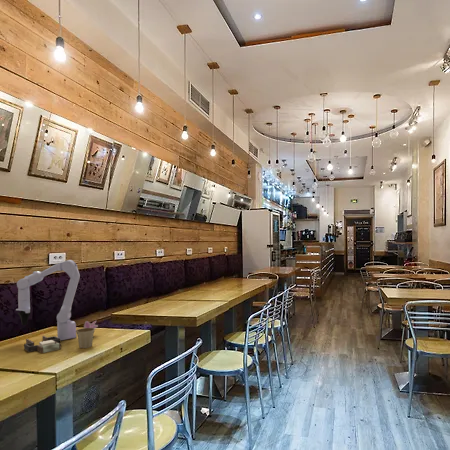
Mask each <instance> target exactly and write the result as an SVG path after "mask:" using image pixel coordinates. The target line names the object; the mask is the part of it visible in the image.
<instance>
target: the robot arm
mask: <svg viewBox="0 0 450 450" xmlns="http://www.w3.org/2000/svg"><path fill="white" fill-rule="evenodd" d="M57 271H59V272H61V271H64V273H66V274H67V275H68V277H69V278H70V279H69V282H68V285H67V288H66V291H65V292H66V293H65V295H64V300H63V302H62V304H61V305H62V306H61V308H60V310H59V312H58V313H57V314H56V321H57V322H56V324H57V329H56V330H57V336H56V337H58V338H60V341H65V340H69V339H75V338H78V335H77V332H76V330H77V324H76V322H75V321H74V320H71V317H72V305H73V302H74V299H75V296H76V295H75V294H76V291H77V287H78V286H79V285H78V284H79V281H80V279H81V278H80V277H81V274H80V271H79V268H78V264H77V263H76V262H75V261H74V260H72V259H68V260H64V261H61V262H58V263H56V264H53V265H52V266H50V267H48V268H46V269H44V270H42V271H38V270H37V271H32V273H31V274H29V275H25V276H24V278H20V279H18V281H17V282H16V287H17V289H18V290H17V291H18V292H17V295H18V296H17V302H18V305H17V306H18V308H16V309H15V311H19V312H17V315H18V316H19V319H20V323H21V325H22V326H26V325H28V321H29V318H30V315H31V300H30V299H31V298H30V297H31V296H30V295H31V294H30V293H31V291H30V287H31V286H34V285H36V284H37V283H40V282H42V281H43V280H44V278H45V277H47V276H48V275H51V274H53V273H55V272H57Z"/></svg>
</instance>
